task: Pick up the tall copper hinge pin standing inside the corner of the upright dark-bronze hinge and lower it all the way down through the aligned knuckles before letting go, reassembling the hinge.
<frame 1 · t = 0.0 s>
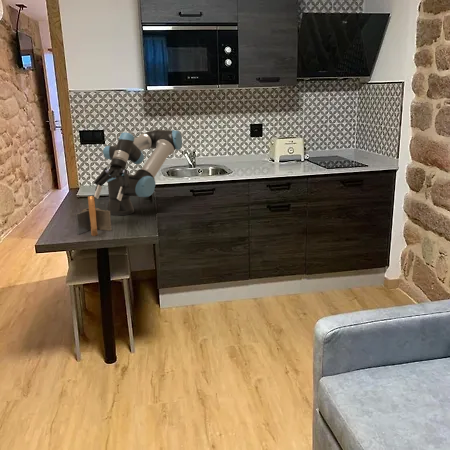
hand: (107, 198, 235), 15 cm above the table, tool tilted 35°, fingers open, 13 cm apart
hinge: (92, 228, 238), on the table
hinge pin: (94, 235, 227), on the table
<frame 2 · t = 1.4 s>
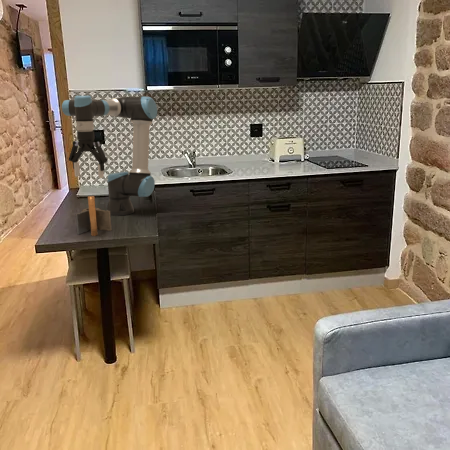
hand: (89, 177, 219), 28 cm above the table, tool pointing down, fingers open, 13 cm apart
nothing on the table moved.
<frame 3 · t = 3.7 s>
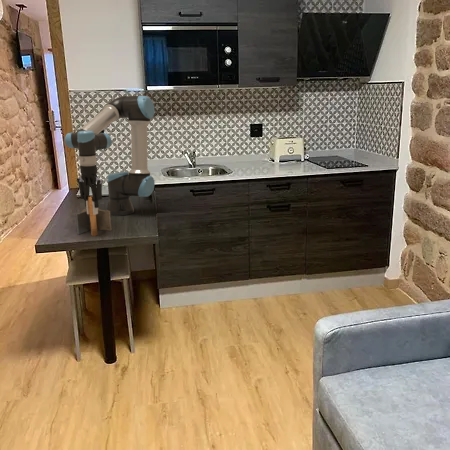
hand: (92, 213, 224), 11 cm above the table, tool pointing down, fingers closed on hinge pin, 3 cm apart
hinge pin: (94, 235, 227), on the table, touching gripper
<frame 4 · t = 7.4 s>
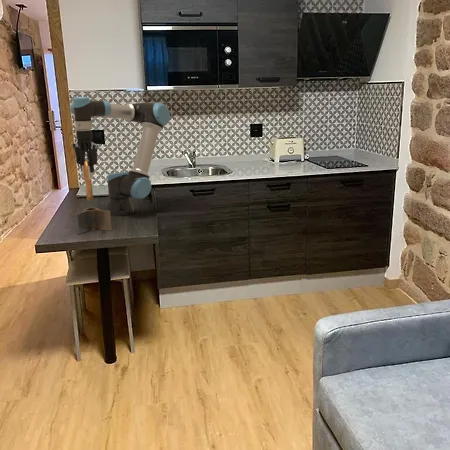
hand: (88, 178, 231), 26 cm above the table, tool pointing down, fingers closed on hinge pin, 3 cm apart
hinge pin: (90, 199, 234), point 15 cm above the table, touching gripper
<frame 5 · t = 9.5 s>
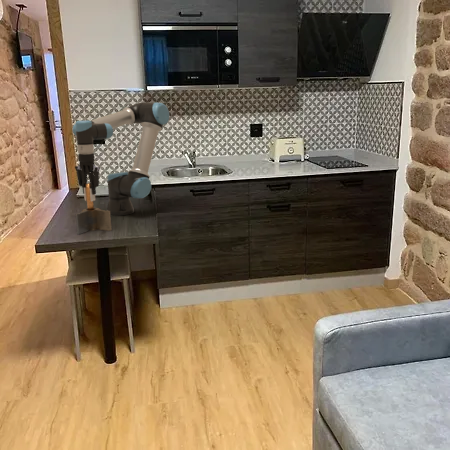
hand: (90, 200, 234), 15 cm above the table, tool pointing down, fingers closed on hinge pin, 3 cm apart
hinge pin: (91, 220, 237), point 4 cm above the table, touching gripper
when the fingers open (13 cm above the table, at t = 11.3 s): hinge pin drops 3 cm, resting in hinge.
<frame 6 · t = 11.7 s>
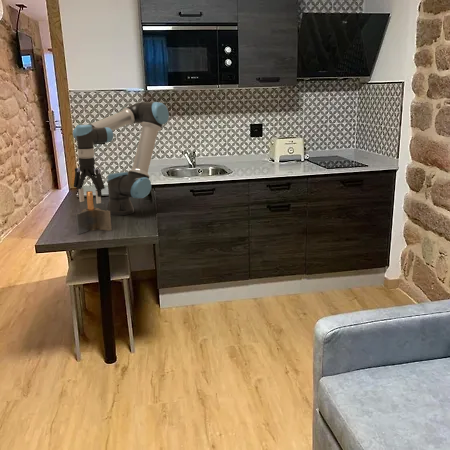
hand: (90, 202, 234), 14 cm above the table, tool pointing down, fingers open, 9 cm apart
hinge pin: (92, 228, 238), resting in hinge
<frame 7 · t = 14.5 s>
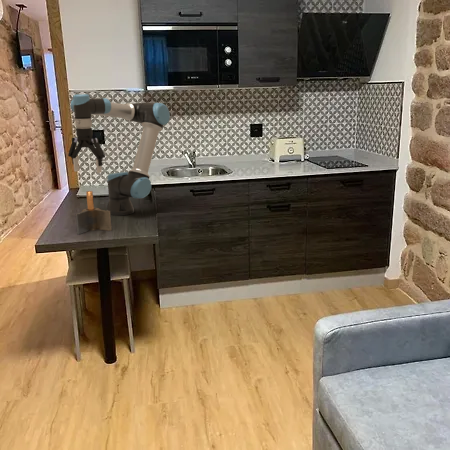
hand: (87, 171, 230), 29 cm above the table, tool pointing down, fingers open, 13 cm apart
nothing on the table moved.
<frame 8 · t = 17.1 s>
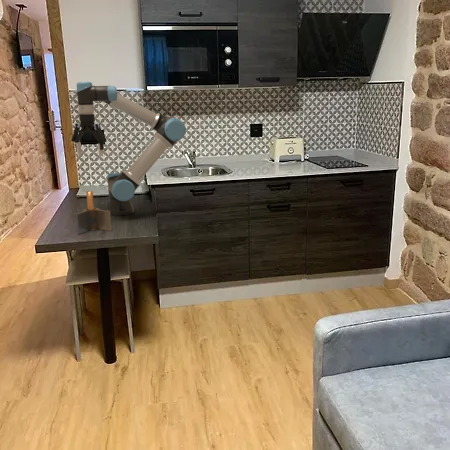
hand: (90, 155, 243), 35 cm above the table, tool pointing down, fingers open, 13 cm apart
nothing on the table moved.
at the end: hinge pin 0.0 cm from the hinge (horizontally); hinge pin resting in hinge; hinge pin tilted 0° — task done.
